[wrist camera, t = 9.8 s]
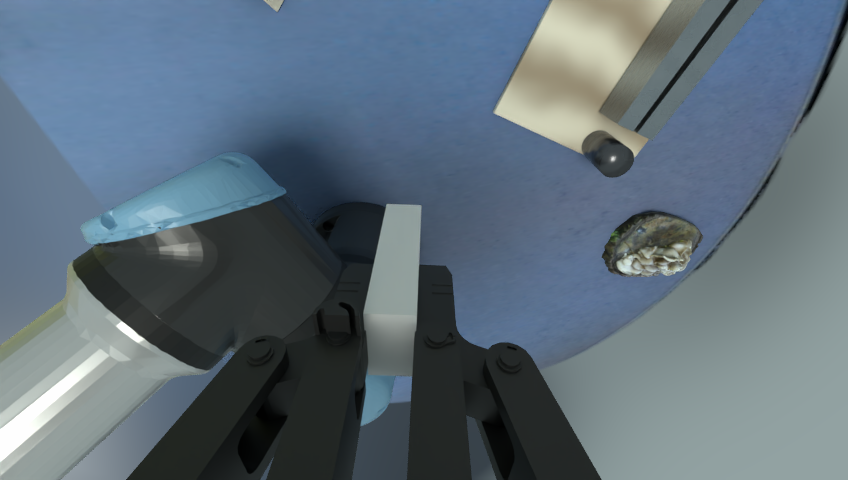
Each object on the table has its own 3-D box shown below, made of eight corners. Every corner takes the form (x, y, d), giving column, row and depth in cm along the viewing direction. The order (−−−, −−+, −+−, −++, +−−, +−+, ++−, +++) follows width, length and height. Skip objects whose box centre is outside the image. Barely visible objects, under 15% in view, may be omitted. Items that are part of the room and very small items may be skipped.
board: (619, 170, 42) (622, 172, 41) (492, 111, 39) (493, 113, 38) (803, -67, 30) (811, -69, 30) (644, -182, 27) (649, -186, 26)
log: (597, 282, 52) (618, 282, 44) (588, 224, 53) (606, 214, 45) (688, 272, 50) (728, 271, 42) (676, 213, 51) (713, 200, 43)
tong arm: (613, 118, 38) (634, 132, 34) (598, 111, 37) (617, 123, 34) (762, -95, 28) (813, -110, 25) (743, -108, 28) (792, -125, 24)
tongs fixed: (603, 164, 41) (623, 184, 37) (575, 152, 40) (592, 170, 36) (783, -77, 29) (845, -91, 25) (749, -102, 28) (806, -121, 24)
